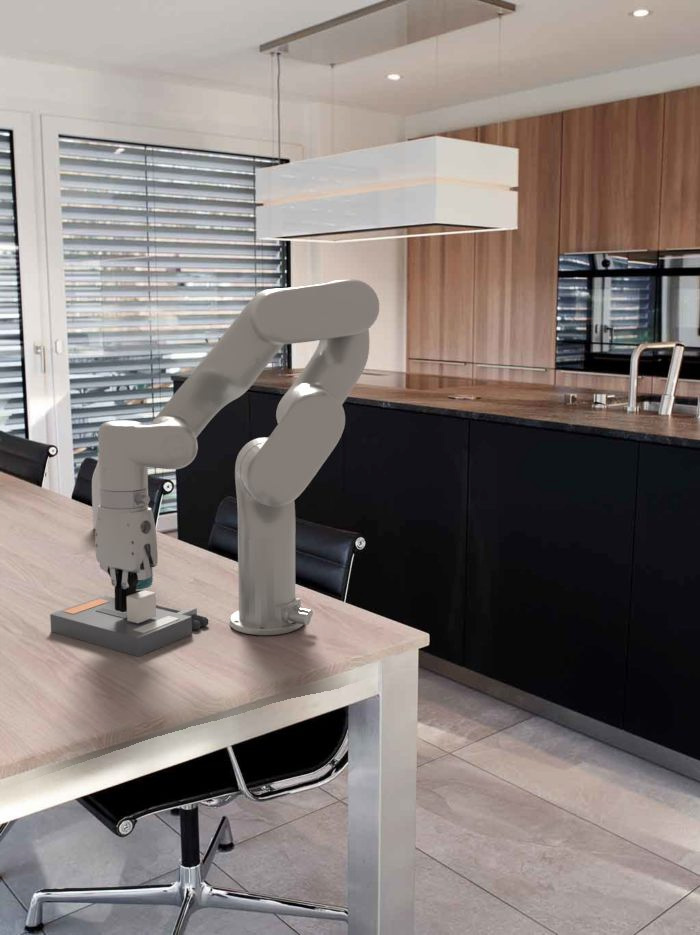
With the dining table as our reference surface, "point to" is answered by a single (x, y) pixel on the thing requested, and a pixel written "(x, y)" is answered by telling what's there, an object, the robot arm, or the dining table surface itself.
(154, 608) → the block
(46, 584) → the dining table surface
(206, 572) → the dining table surface
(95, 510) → the milk bottle
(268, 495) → the robot arm
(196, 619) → the dressed cords
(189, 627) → the panel
